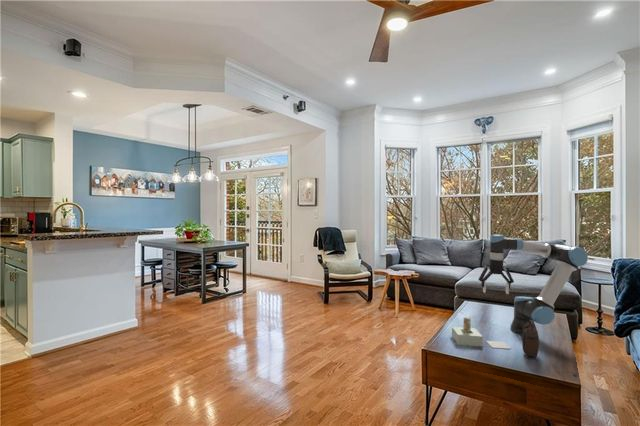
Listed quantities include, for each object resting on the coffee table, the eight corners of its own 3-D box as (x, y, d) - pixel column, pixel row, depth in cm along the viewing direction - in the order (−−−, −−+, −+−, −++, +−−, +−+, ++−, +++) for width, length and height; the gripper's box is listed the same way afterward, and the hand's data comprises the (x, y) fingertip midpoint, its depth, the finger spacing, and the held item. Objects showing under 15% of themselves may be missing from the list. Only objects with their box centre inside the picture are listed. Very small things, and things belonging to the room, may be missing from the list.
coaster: (503, 342, 205) (503, 341, 205) (510, 349, 195) (510, 348, 195) (486, 341, 206) (486, 340, 206) (492, 347, 196) (492, 347, 196)
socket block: (474, 337, 212) (475, 328, 212) (482, 346, 198) (482, 336, 198) (451, 336, 213) (451, 326, 213) (457, 344, 200) (458, 334, 200)
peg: (469, 340, 207) (469, 317, 207) (471, 342, 203) (471, 319, 203) (462, 339, 208) (462, 317, 208) (464, 342, 204) (464, 319, 204)
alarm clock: (520, 350, 194) (521, 315, 194) (535, 353, 190) (536, 317, 190) (522, 360, 181) (523, 323, 181) (538, 363, 177) (539, 325, 177)
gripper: (515, 259, 213) (514, 292, 213) (473, 257, 216) (472, 290, 216) (520, 261, 205) (519, 295, 205) (477, 259, 209) (476, 293, 209)
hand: (495, 293), depth 211 cm, fingers open, 13 cm apart
